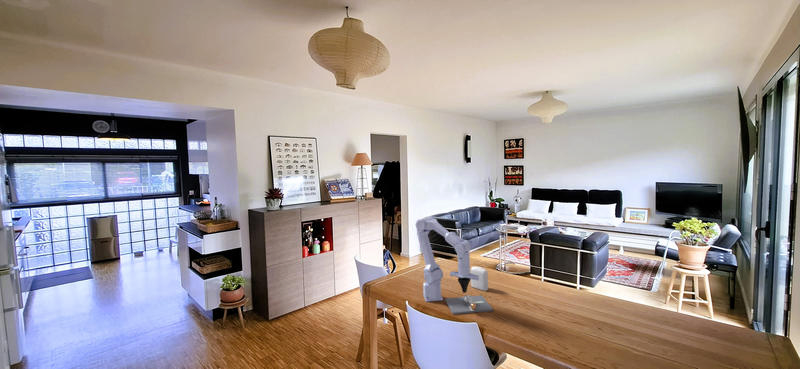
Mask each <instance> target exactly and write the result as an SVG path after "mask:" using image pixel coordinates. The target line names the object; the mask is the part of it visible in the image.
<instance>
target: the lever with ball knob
mask: <svg viewBox="0 0 800 369" xmlns="http://www.w3.org/2000/svg"><path fill="white" fill-rule="evenodd" d="M472 296H473V295H469V294H467V295H463V296H462V297H463V302H465V303H468V304H469V306H470V307H471V309H472V310H476V304H475V303H474V302H473V297H472Z"/></svg>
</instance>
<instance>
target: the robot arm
mask: <svg viewBox="0 0 800 369" xmlns="http://www.w3.org/2000/svg"><path fill="white" fill-rule="evenodd" d="M415 227H416V235H417V239H418V243H419V245H420V249H421V252H422V256H423V261H424V263H425V267H424V268H423V278H424V281H425V282H423V283H422V285H423V286H422V288H423V291H422V292H423V293H422V294H423V298H424V300H425V302H437V301H444V298H443V296H442V287H441V285H442V283H441V281H442V279H443V277H444V272H443V270H442V269H441V267H440V264H438V263H437V262H436V260H435V257H434V252H433V249H432V245H431V243H430V238H429V236H428V235H429V233H430V232H431V231H434V232H436V233H438V234H439V235H441V236H443V238H444V240H445V242H447V243H448V244H449V245H451V246H452V247H453V248H454V251H455V252H456V254H457V255H456V256H457V270H458V271H455V270H454V271H449V276H450V277H457V281H458V284H459V286H460V287H461V292H462V293H463V294H464V293H467V292H468V287H469V284H470V283H471V279H473V280H476V281H478V280H479V276H478V275H474V274H471V266H470V265H471V263H470V260H471V259H470V252H471V250H472V244H471V242H470V241H469V240H467V239H463V237H460V236H458V235H457V233H456V232H455V231H450V232H449V231H448V229H446V228H445V227H444V226H443V225H442V224H440V223H439V221H438V220H437V219H436V218H435V217H433V216H432V215H431V216H426V217H424V218H418V219H417V221H416V223H415Z"/></svg>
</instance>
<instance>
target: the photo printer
mask: <svg viewBox="0 0 800 369" xmlns="http://www.w3.org/2000/svg"><path fill="white" fill-rule="evenodd" d="M470 273H471V274H474V275H478V276H479V280H478V281H476V280H473V279H471V280H470V285H471V288H474V289H477V290H481V291H483V292H487V291H488V290H489V276H488V275H489V274H488V270H487V269H485V268H484V267H481V266H472V267H470Z"/></svg>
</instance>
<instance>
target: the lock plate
mask: <svg viewBox="0 0 800 369" xmlns="http://www.w3.org/2000/svg"><path fill="white" fill-rule="evenodd" d="M471 296H472V297H473V302H474V303H475V304H476V310H472V309H471V307H470V306H469V304H468V303H465V302H463V296H460V297H459V296H457V297H450V298H449V297H448V298H444V301H445V302H446V305H447V306H448V308H449V310H450V312H451V313H452V315H462V314H463V315H464V314H472V313H473V314H474V313H475V312H476V313H483V312H484V313H485V312H494V308H493V307H492V306H491V304H489V302H488V301H487V300H486V299H485V298H484V296H483V295H471Z"/></svg>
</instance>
